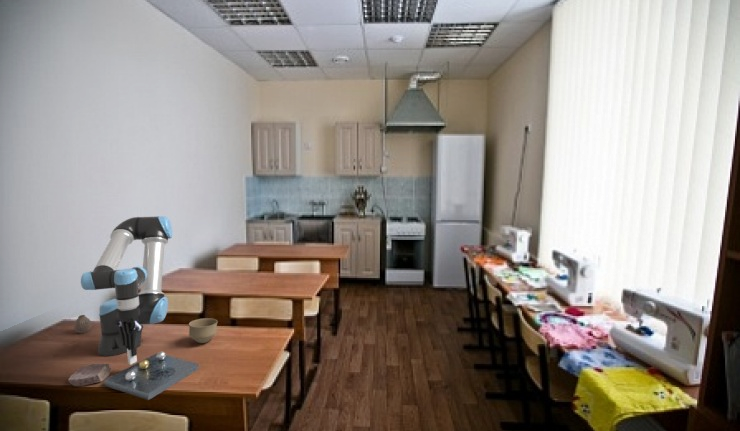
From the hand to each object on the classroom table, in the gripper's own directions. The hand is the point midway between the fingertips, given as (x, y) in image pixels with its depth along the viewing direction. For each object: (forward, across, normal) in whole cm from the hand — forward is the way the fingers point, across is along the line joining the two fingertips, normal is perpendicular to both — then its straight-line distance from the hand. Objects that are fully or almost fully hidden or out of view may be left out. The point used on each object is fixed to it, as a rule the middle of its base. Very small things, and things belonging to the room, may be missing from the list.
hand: (132, 362), depth 145 cm
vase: (+4, -61, +16) cm, 63 cm away
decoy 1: (0, +7, +8) cm, 10 cm away
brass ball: (0, +7, 0) cm, 7 cm away
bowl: (+4, +6, +31) cm, 32 cm away
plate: (+4, +12, 0) cm, 12 cm away
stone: (+4, -10, -10) cm, 15 cm away
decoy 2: (0, +10, -7) cm, 12 cm away
